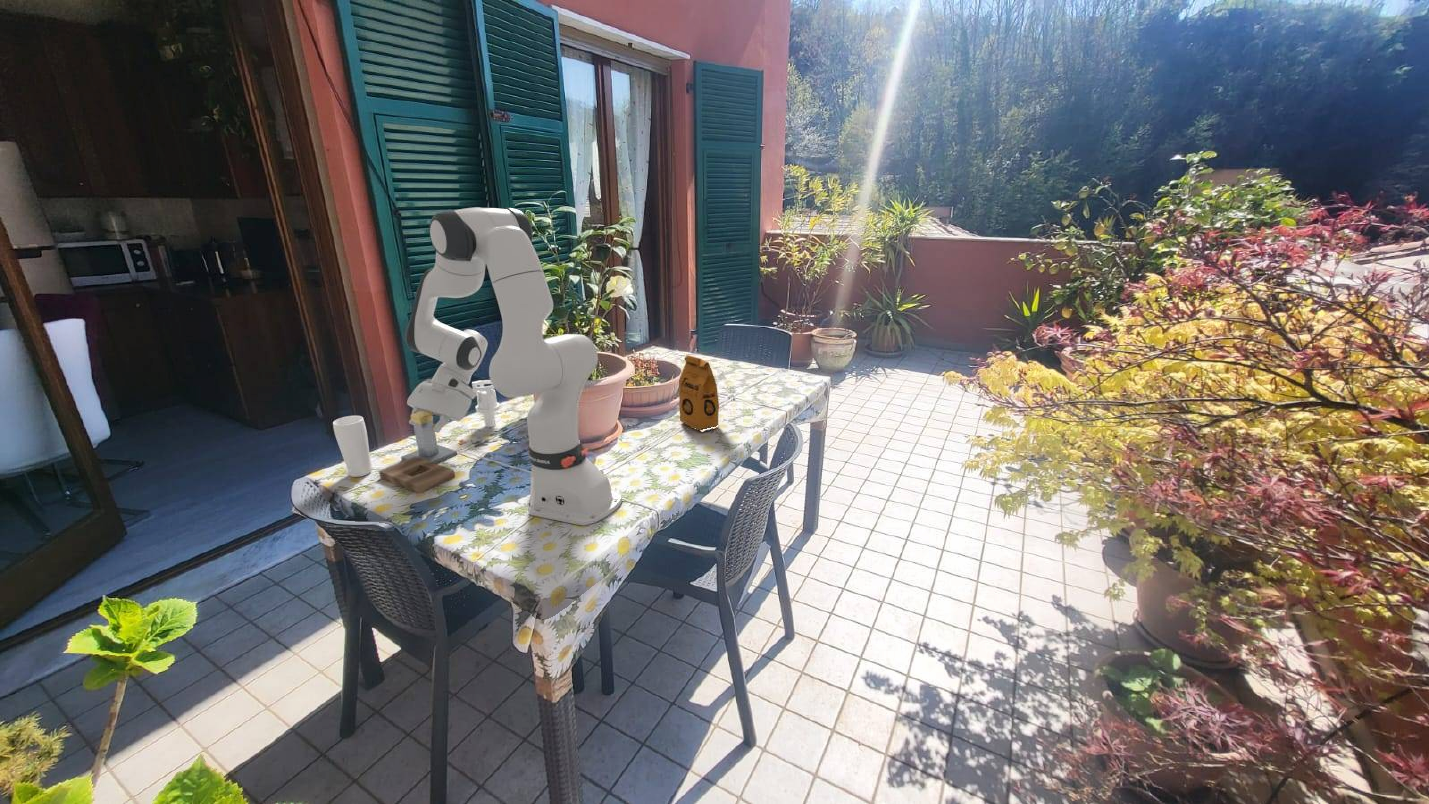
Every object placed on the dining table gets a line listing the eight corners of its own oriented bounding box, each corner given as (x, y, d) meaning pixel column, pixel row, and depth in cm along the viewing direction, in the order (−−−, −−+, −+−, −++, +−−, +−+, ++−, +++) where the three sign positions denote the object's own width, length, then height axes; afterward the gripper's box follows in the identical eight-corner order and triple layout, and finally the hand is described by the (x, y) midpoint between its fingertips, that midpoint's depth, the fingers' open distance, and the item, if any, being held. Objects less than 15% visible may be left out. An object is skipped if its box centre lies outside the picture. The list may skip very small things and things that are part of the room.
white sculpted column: (475, 424, 179) (468, 379, 174) (498, 419, 183) (492, 375, 178) (482, 431, 174) (475, 385, 169) (505, 426, 178) (499, 380, 173)
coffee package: (697, 435, 172) (696, 366, 164) (675, 423, 181) (674, 356, 173) (723, 428, 177) (724, 360, 169) (701, 416, 186) (700, 351, 179)
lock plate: (454, 476, 147) (453, 470, 146) (419, 493, 138) (417, 486, 138) (416, 462, 154) (415, 456, 153) (380, 478, 146) (378, 471, 145)
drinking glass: (340, 475, 147) (326, 422, 142) (365, 465, 153) (353, 413, 147) (355, 481, 144) (342, 427, 139) (381, 470, 150) (369, 418, 144)
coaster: (457, 454, 159) (456, 451, 159) (424, 468, 151) (423, 465, 150) (434, 446, 164) (433, 443, 163) (401, 460, 155) (400, 456, 155)
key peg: (439, 453, 157) (432, 412, 153) (427, 458, 154) (419, 417, 150) (430, 450, 159) (423, 410, 155) (418, 455, 156) (410, 414, 152)
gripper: (417, 372, 161) (390, 415, 156) (464, 384, 151) (438, 430, 147) (433, 383, 166) (408, 425, 161) (481, 395, 156) (456, 440, 152)
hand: (423, 427), depth 154 cm, fingers open, 8 cm apart
